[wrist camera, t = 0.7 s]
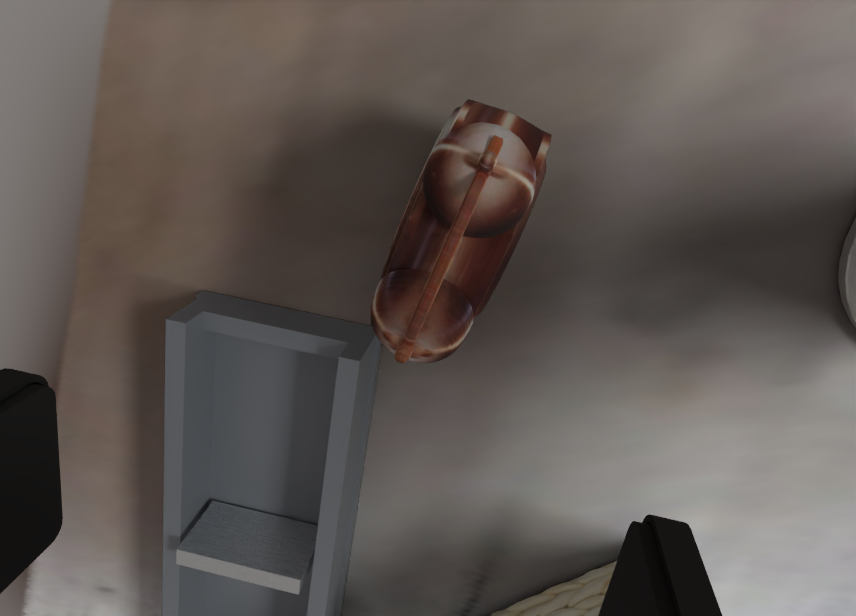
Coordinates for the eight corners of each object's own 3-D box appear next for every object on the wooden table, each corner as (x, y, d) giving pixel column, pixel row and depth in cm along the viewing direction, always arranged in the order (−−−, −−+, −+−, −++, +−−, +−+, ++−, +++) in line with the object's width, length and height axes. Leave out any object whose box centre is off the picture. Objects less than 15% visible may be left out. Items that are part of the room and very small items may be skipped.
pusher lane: (384, 328, 40) (365, 362, 35) (333, 670, 50) (313, 730, 46) (203, 290, 41) (160, 318, 36) (190, 633, 51) (157, 688, 47)
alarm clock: (474, 89, 34) (435, 97, 20) (555, 125, 34) (573, 159, 20) (400, 266, 38) (326, 375, 24) (474, 298, 38) (442, 426, 24)
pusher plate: (324, 527, 44) (300, 580, 40) (322, 540, 45) (298, 594, 40) (213, 500, 45) (176, 549, 40) (212, 514, 45) (176, 563, 41)
